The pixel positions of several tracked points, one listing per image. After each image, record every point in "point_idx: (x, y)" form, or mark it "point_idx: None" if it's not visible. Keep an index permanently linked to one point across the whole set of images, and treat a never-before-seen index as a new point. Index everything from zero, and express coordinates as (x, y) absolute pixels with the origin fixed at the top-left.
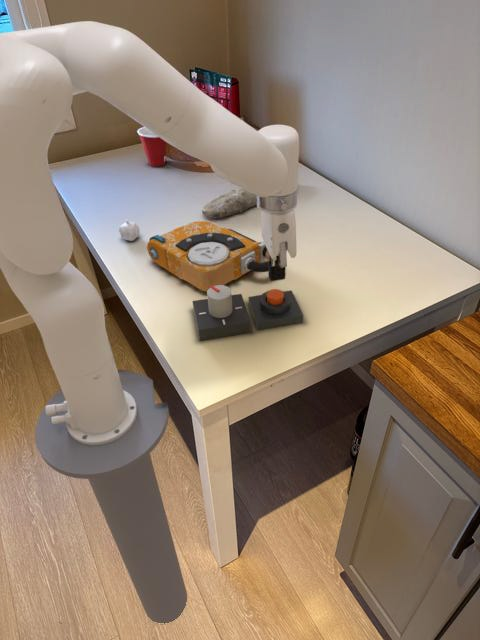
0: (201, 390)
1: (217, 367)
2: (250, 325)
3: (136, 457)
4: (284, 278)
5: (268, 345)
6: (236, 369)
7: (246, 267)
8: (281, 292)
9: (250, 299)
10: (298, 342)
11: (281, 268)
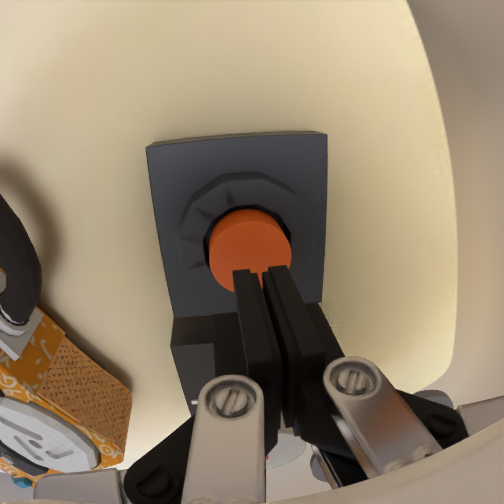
0: (426, 376)
1: (395, 363)
2: (326, 319)
3: (452, 406)
4: (283, 267)
5: (381, 261)
6: (416, 331)
7: (31, 322)
8: (244, 230)
9: (192, 314)
10: (397, 174)
11: (340, 357)
